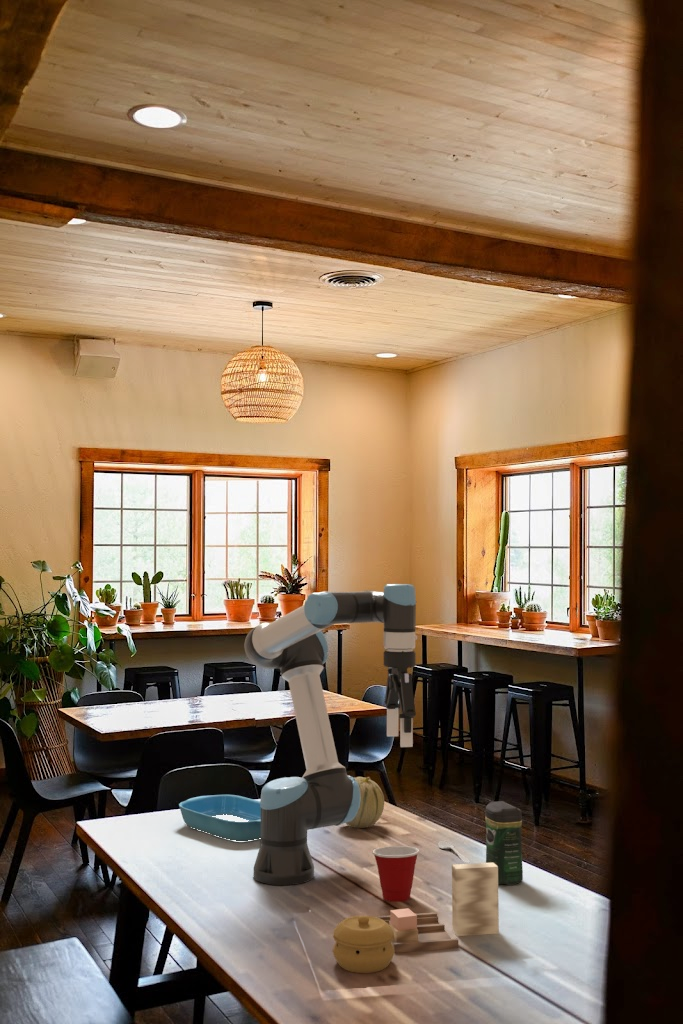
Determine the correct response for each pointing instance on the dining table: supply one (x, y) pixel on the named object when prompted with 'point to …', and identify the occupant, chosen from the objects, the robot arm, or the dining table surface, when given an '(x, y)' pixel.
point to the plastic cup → (396, 871)
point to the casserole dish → (204, 807)
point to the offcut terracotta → (403, 919)
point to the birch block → (475, 899)
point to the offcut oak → (404, 935)
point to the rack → (426, 935)
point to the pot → (363, 944)
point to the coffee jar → (504, 841)
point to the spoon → (449, 846)
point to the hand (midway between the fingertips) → (399, 741)
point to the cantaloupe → (368, 804)
